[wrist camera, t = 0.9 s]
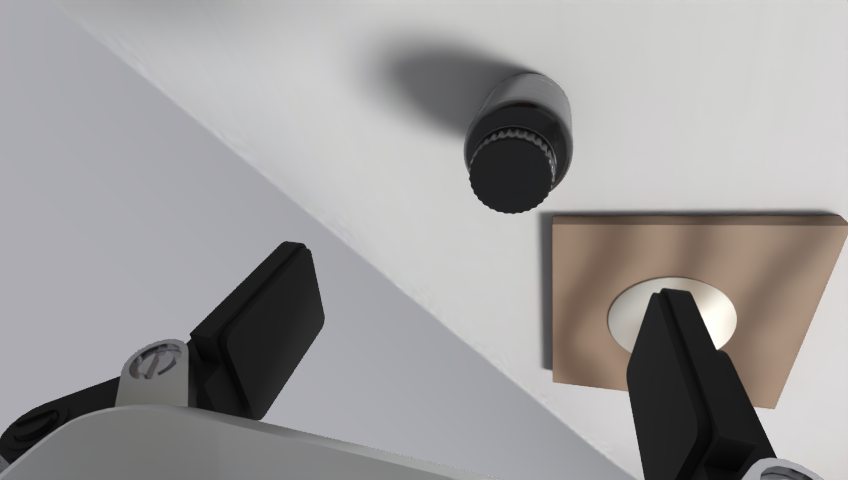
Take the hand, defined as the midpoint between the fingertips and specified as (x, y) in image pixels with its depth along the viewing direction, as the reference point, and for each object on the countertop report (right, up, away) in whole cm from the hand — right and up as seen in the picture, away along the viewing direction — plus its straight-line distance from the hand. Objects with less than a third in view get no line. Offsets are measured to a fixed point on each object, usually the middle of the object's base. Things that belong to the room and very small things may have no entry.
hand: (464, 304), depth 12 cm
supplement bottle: (+7, +12, +21) cm, 25 cm away
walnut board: (+21, -5, +27) cm, 35 cm away
